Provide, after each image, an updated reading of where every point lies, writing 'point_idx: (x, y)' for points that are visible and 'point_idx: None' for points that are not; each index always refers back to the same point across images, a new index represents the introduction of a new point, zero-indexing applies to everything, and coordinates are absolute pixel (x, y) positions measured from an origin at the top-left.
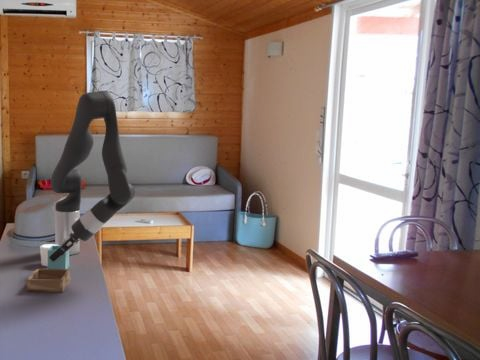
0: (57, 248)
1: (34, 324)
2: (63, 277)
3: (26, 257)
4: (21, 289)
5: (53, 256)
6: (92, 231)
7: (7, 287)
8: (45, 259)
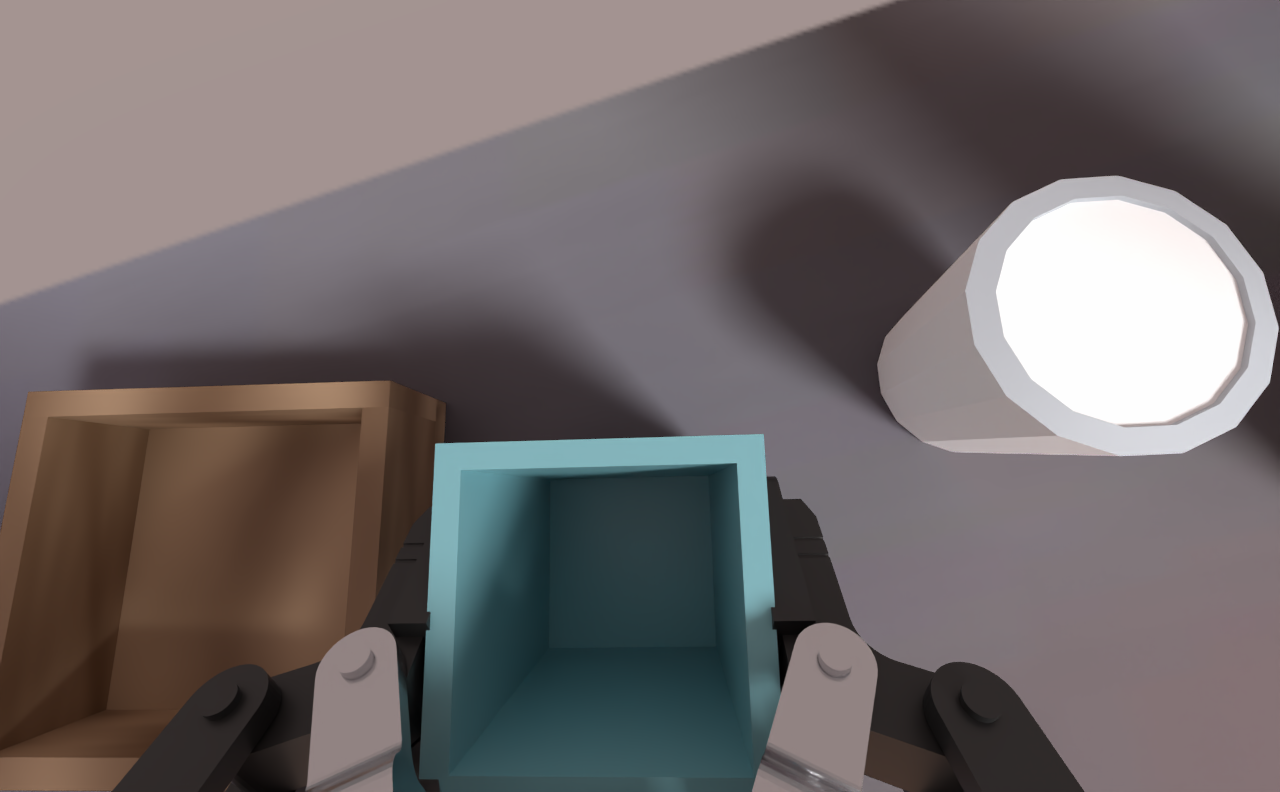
0: (736, 546)
1: None
2: (58, 774)
3: (1122, 106)
4: (216, 349)
5: (405, 560)
6: None
7: (269, 232)
8: (903, 336)
